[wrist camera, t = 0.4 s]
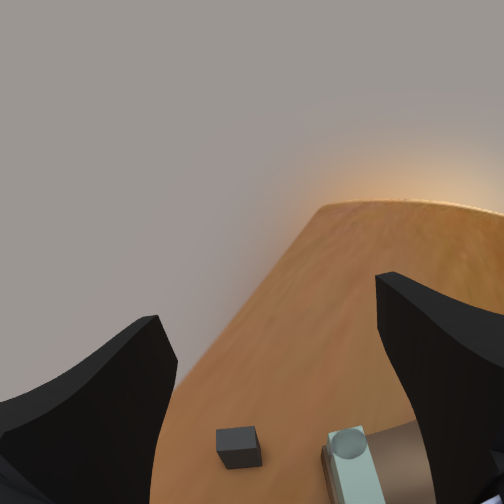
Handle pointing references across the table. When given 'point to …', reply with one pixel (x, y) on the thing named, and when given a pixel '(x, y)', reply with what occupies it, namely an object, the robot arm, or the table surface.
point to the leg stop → (238, 447)
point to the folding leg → (353, 467)
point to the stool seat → (395, 466)
